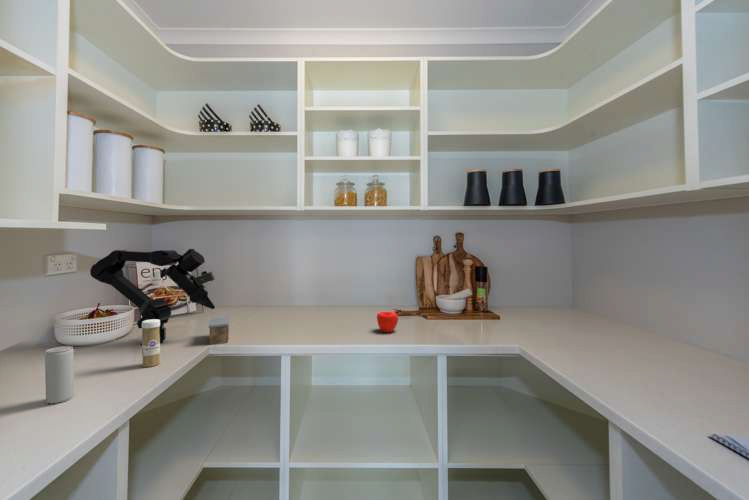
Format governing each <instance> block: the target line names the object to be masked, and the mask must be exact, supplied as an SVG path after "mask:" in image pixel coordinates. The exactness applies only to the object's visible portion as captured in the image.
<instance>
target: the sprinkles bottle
mask: <svg viewBox="0 0 749 500" xmlns="http://www.w3.org/2000/svg"><path fill="white" fill-rule="evenodd" d="M159 327H160V320H159V319H150V320H145V321H142V328H141V331H142V332H141V343H142V345H141V351H142V352H141V353H142V354H141V355H142V367H144V368H150V367H151V368H152V367H155V366H158V365H159V364H161V361H160V358H161V357H160V353H161V343H160V334H159Z"/></svg>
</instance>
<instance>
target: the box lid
mask: <svg viewBox="0 0 749 500" xmlns="http://www.w3.org/2000/svg"><path fill="white" fill-rule="evenodd" d="M228 323H229V324H230V316H221V317H211V319H210V322H209V323H208V329H210V328H213V327H222V326H228Z"/></svg>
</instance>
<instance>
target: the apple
mask: <svg viewBox="0 0 749 500" xmlns="http://www.w3.org/2000/svg"><path fill="white" fill-rule="evenodd" d="M376 321H377V324H378V328H379V330H381V332H382V333H392V332H393V331H394V330H395V329H396V327H397V324H398V322H399V315H398V313H395V312H392V311H380V312H378V313H377V314H376Z"/></svg>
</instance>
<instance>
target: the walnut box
mask: <svg viewBox="0 0 749 500" xmlns="http://www.w3.org/2000/svg"><path fill="white" fill-rule="evenodd" d="M229 337H230V322H229V323H228V326H222V327H213V328H209V345H220V344H228V343H229Z"/></svg>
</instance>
